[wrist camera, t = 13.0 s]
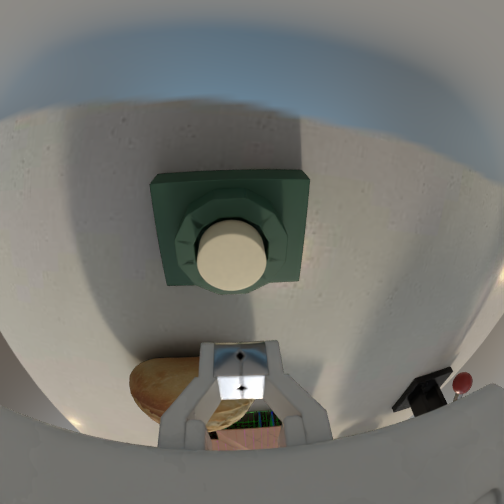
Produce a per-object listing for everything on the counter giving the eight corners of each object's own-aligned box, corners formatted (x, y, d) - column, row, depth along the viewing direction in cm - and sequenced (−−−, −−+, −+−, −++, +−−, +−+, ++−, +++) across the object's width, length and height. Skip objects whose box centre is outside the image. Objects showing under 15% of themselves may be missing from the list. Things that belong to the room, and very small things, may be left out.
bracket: (415, 378, 38) (443, 443, 26) (450, 366, 39) (479, 423, 27) (391, 407, 44) (411, 464, 32) (425, 396, 44) (447, 448, 33)
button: (202, 275, 18) (200, 292, 17) (196, 220, 16) (193, 234, 15) (262, 272, 19) (265, 289, 17) (264, 218, 17) (268, 232, 15)
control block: (171, 269, 22) (163, 302, 19) (157, 173, 18) (141, 194, 15) (293, 264, 23) (304, 296, 20) (301, 169, 19) (318, 188, 15)
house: (198, 462, 54) (198, 490, 47) (162, 409, 36) (158, 457, 29) (291, 457, 55) (295, 485, 48) (314, 403, 37) (324, 449, 30)
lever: (451, 372, 32) (464, 381, 28) (465, 366, 32) (479, 374, 28) (428, 442, 33) (437, 452, 29) (442, 435, 33) (452, 445, 30)
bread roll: (117, 340, 27) (100, 402, 20) (256, 333, 27) (264, 403, 20) (147, 386, 32) (139, 439, 25) (261, 381, 32) (267, 438, 26)
